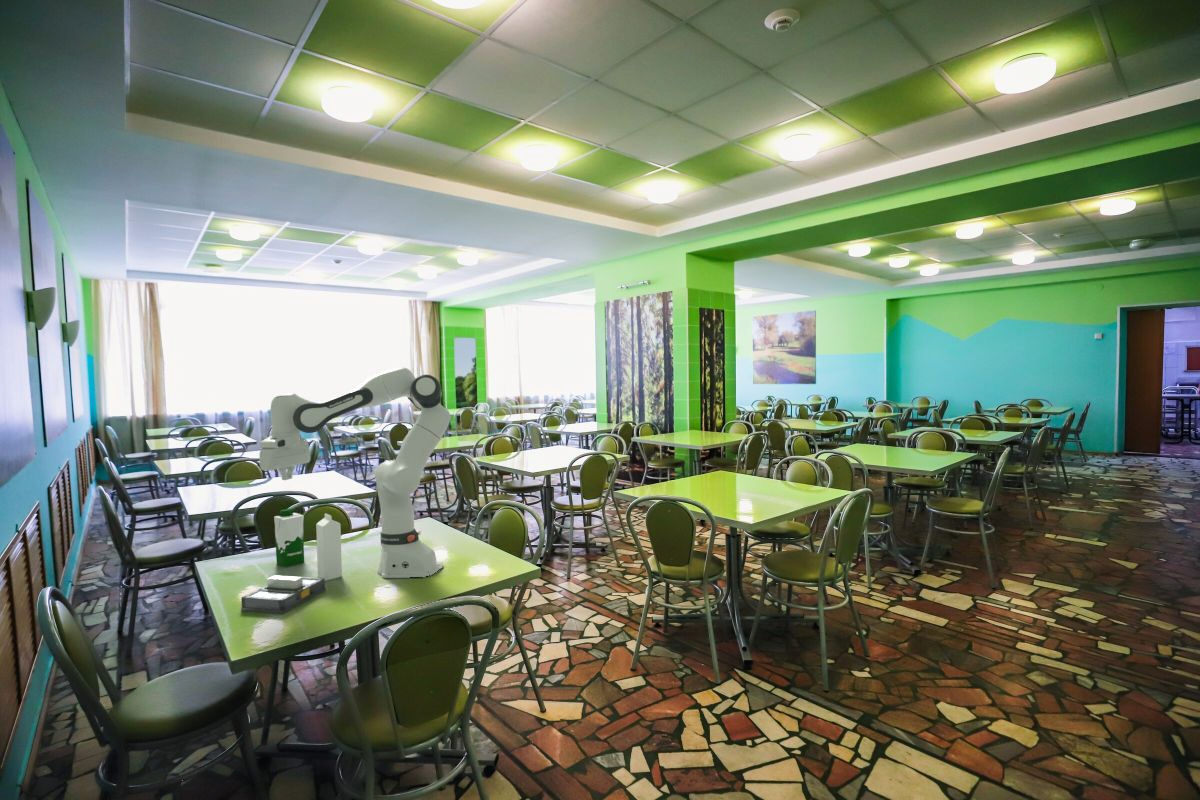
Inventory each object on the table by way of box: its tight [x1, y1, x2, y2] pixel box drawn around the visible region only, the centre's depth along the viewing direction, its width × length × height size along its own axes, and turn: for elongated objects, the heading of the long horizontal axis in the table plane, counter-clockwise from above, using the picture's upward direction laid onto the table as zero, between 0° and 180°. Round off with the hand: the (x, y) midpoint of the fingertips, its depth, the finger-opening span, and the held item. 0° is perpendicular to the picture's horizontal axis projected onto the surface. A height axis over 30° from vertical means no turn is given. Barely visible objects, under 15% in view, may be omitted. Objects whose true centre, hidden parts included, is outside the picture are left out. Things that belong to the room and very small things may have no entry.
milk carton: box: [273, 508, 305, 568], centre depth 213 cm, size 9×9×20 cm
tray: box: [240, 575, 326, 615], centre depth 177 cm, size 15×19×4 cm
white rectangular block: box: [266, 575, 303, 591], centre depth 177 cm, size 10×3×6 cm, turn 79°
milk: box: [315, 513, 343, 582], centre depth 197 cm, size 6×6×22 cm
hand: (287, 479), depth 198 cm, fingers closed
